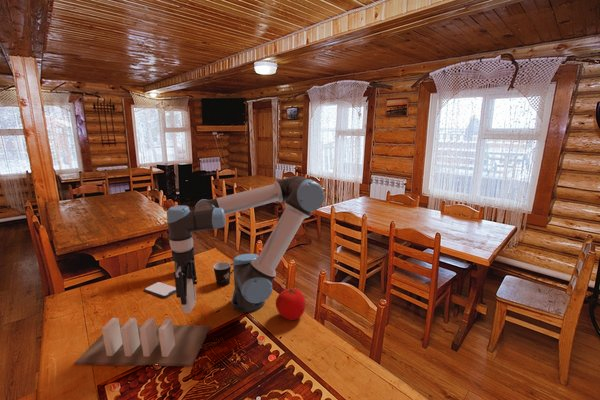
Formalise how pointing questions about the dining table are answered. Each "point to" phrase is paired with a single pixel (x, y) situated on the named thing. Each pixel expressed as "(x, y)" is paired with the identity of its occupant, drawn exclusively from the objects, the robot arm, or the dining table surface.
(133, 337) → the domino
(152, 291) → the phone case
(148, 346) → the domino
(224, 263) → the coffee mug
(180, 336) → the walnut board
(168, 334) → the domino
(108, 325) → the domino
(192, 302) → the loose domino
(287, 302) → the tomato
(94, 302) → the dining table surface
